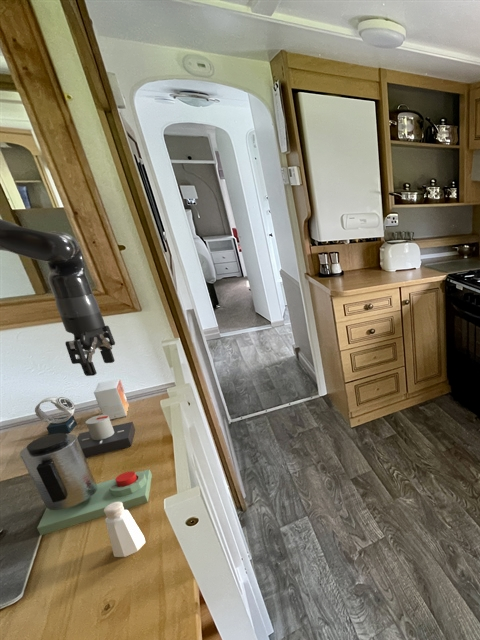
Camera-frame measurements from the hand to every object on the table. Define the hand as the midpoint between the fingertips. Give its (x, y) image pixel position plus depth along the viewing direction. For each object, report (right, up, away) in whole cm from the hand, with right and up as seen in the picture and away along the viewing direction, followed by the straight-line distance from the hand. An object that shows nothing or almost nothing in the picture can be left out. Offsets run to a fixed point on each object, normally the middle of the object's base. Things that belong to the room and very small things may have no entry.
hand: (100, 368), depth 103 cm
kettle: (+11, -28, -18) cm, 35 cm away
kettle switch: (+19, -27, -13) cm, 35 cm away
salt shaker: (+31, -36, -25) cm, 54 cm away
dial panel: (-4, -22, +6) cm, 24 cm away
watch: (-23, -20, +12) cm, 33 cm away
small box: (-16, -16, +22) cm, 31 cm away
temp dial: (-4, -20, +5) cm, 21 cm away
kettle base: (+14, -31, -14) cm, 37 cm away
